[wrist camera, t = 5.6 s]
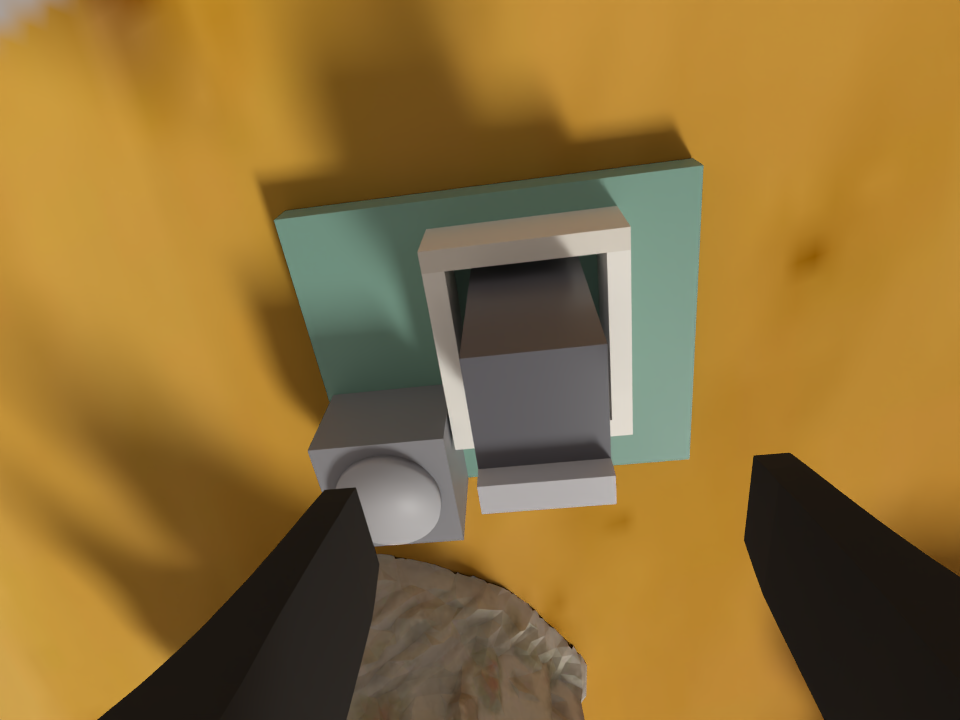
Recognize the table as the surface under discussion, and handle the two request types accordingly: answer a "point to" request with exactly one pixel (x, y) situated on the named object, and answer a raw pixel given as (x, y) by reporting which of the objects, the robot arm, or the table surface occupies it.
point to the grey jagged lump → (461, 652)
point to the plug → (537, 387)
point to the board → (440, 318)
